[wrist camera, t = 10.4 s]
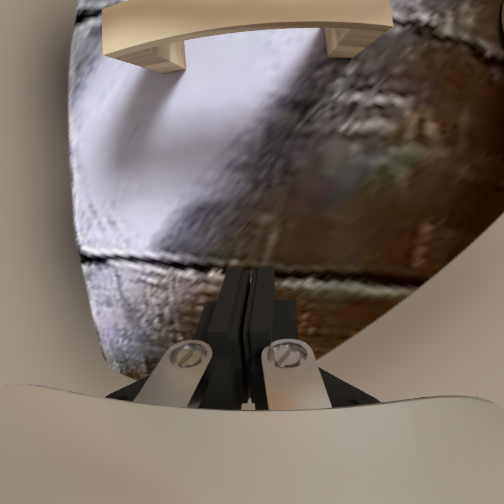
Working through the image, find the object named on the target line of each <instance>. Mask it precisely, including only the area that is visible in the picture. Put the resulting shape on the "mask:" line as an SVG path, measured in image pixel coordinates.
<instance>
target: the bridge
mask: <svg viewBox="0 0 504 504" xmlns="http://www.w3.org/2000/svg"><path fill="white" fill-rule="evenodd" d="M392 27H393V21H392V15H391V9H390V4H389V0H128V1H125V2H122V3H119V4H116V5H113V6H110V7H108V8H105V9H102V43H103V55H104V56H107V57H111V58H114V59H118V60H121V61H125V62H128V63H131V64H134V65H137V66H141V67H144V68H147V69H150V70H153V71H156V72H159V73H161V74H164V73H169V72H174V71H179V70H185V69H186V62H185V50H184V40H189V39H194V38H200V37H206V36H213V35H220V34H227V33H235V32H244V31H255V30H267V29H285V28H324V33H325V41H326V50H327V57H339V58H353V57H354V56H355V55H357V54H358V53H359V52H360V51H362V50H363V49H364V48H366V47H367V46H368V45H369V44H371V43H372V42H373V41H375V40H376V39H377V38H378V37H380V36H381V35H382V34H384V33H385V32H386V31H388V30H389V29H390V28H392Z"/></svg>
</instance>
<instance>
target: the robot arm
mask: <svg viewBox="0 0 504 504" xmlns="http://www.w3.org/2000/svg"><path fill="white" fill-rule="evenodd" d="M502 26H503V32H504V3H503V6H502ZM249 387H250V393H251V401H252V403H255V409H256V410H241V406H242V403H247V402H248V395H249ZM0 504H504V408H502V407H501V406H500V405H498V404H497V403H494V402H493V401H490V400H486V399H482V398H477V397H468V396H432V397H421V398H415V399H407V400H399V401H391V402H380V401H378V400H377V399H376V398H374V397H372V396H370V395H368V394H367V393H365V392H363V391H361V390H359V389H357V388H355V387H353V386H352V385H350V384H348V383H346V382H344V381H342V380H340V379H339V378H337V377H335V376H333V375H331V374H330V373H328V372H326V371H324V370H323V369H321V368H319V367H318V365H317V362H316V359H315V357H314V354H313V351H312V349H311V348H310V346H309V345H307V344H306V343H305V342H302V341H300V340H298V328H297V314H296V300H295V299H287V300H276V296H275V280H274V267H273V266H260V267H258V270H257V271H253V274H252V279H251V285H250V275H249V271H244V269H243V267H237V268H228V269H227V272H226V275H225V278H224V281H223V284H222V287H221V291H220V294H219V297H218V300H217V302H207V303H206V304H205V307H204V310H203V312H202V315H201V318H200V320H199V323H198V326H197V329H196V331H195V334H194V337H193V339H192V340H187V341H182V342H179V343H177V344H175V345H173V346H172V347H170V348H169V349H168V350H167V351H166V353H165V354H164V356H163V357H162V359H161V360H160V362H159V363H158V365H157V366H156V368H155V369H154V371H153V372H152V374H151V375H149V376H147V377H145V378H143V379H140V380H138V381H136V382H134V383H132V384H130V385H128V386H126V387H124V388H122V389H120V390H117V391H115V392H113V393H111V394H109V395H108V396H106V397H99V396H93V395H88V394H82V393H77V392H72V391H67V390H61V389H56V388H51V387H46V386H41V385H32V384H12V385H4V386H0Z"/></svg>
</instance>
